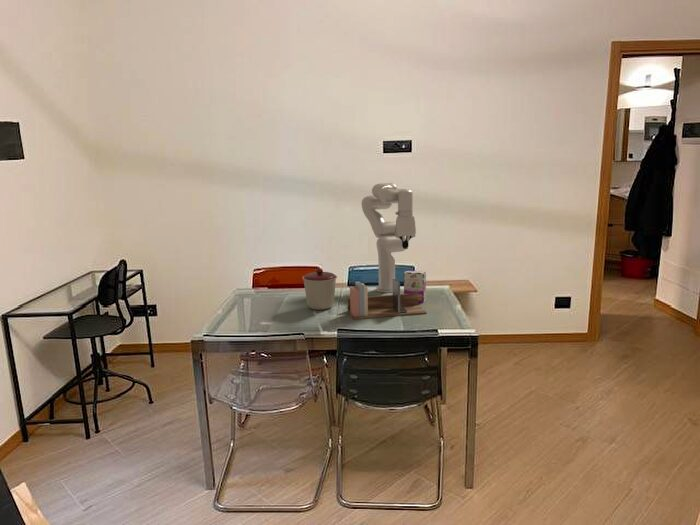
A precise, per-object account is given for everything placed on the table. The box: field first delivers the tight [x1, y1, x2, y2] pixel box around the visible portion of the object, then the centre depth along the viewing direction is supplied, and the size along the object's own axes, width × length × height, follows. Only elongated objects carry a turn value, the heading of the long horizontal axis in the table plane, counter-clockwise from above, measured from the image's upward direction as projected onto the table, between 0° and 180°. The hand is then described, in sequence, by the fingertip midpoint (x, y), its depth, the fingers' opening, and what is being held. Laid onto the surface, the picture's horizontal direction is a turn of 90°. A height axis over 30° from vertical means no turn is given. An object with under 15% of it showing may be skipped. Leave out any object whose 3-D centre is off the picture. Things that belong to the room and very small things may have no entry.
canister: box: [302, 267, 338, 311], centre depth 277 cm, size 18×18×21 cm
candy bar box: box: [403, 270, 427, 304], centre depth 285 cm, size 11×5×16 cm, turn 66°
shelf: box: [346, 293, 427, 321], centre depth 267 cm, size 15×37×7 cm, turn 101°
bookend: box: [392, 278, 407, 313], centre depth 266 cm, size 10×5×15 cm, turn 11°
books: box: [349, 281, 369, 317], centre depth 263 cm, size 10×7×15 cm
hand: (405, 248), depth 281 cm, fingers closed
